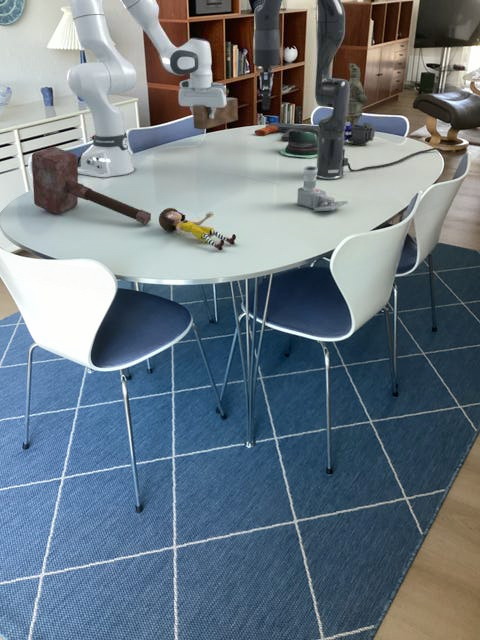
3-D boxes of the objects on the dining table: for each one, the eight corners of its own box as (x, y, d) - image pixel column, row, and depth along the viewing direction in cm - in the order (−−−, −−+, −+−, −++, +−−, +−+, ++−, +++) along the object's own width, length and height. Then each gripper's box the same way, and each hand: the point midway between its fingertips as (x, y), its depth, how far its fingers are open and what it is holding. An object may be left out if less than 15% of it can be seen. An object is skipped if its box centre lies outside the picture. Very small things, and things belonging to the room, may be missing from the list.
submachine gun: (248, 131, 260) (271, 121, 279) (248, 137, 261) (271, 127, 280) (310, 137, 246) (331, 126, 265) (310, 144, 248) (330, 132, 266)
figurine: (212, 239, 141) (145, 208, 153) (211, 265, 145) (145, 233, 157) (245, 224, 150) (179, 196, 162) (243, 249, 154) (178, 220, 166)
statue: (367, 132, 266) (374, 63, 251) (349, 133, 264) (355, 64, 249) (357, 127, 275) (362, 61, 260) (339, 129, 273) (344, 62, 258)
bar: (203, 129, 231) (201, 106, 226) (194, 128, 234) (192, 105, 229) (237, 119, 247) (237, 98, 242) (229, 118, 250) (228, 97, 245)
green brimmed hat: (332, 145, 241) (326, 158, 224) (294, 164, 249) (286, 177, 233) (317, 113, 235) (310, 124, 219) (279, 133, 244) (269, 145, 228)
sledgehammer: (159, 186, 162) (53, 145, 173) (139, 196, 154) (29, 152, 166) (154, 239, 172) (54, 196, 183) (135, 250, 164) (32, 205, 176)
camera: (310, 163, 175) (350, 172, 167) (308, 199, 181) (347, 209, 173) (293, 169, 170) (334, 178, 161) (291, 206, 176) (331, 217, 167)
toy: (345, 120, 249) (377, 123, 242) (343, 139, 253) (375, 143, 246) (337, 123, 243) (369, 127, 236) (336, 143, 247) (367, 147, 240)
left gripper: (228, 82, 225) (229, 117, 232) (181, 80, 231) (184, 115, 238) (223, 84, 220) (224, 120, 227) (175, 82, 226) (178, 118, 233)
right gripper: (279, 49, 152) (278, 111, 161) (279, 45, 165) (279, 102, 173) (252, 49, 153) (252, 111, 161) (254, 45, 165) (254, 103, 173)
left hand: (203, 117), depth 233 cm, fingers closed on bar, 6 cm apart
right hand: (266, 107), depth 167 cm, fingers open, 8 cm apart
